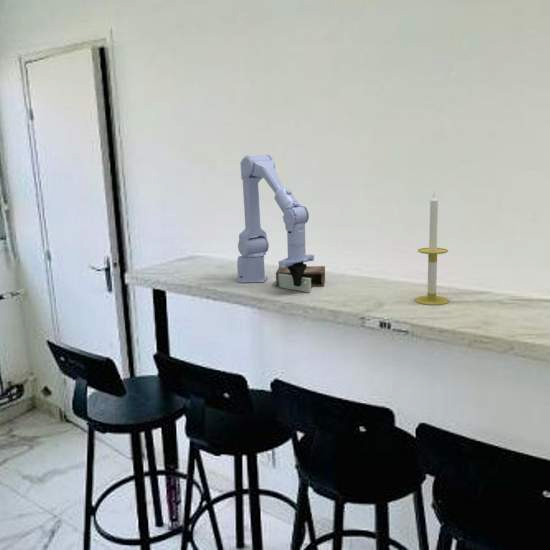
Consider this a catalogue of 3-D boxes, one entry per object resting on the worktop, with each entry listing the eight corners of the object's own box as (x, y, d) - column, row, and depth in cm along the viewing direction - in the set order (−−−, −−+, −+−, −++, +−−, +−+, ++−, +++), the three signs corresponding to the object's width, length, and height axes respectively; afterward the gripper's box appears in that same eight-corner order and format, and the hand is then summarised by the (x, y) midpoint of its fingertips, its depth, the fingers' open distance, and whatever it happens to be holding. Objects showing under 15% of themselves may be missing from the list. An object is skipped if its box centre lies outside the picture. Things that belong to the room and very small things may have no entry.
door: (276, 287, 202) (275, 274, 201) (279, 286, 203) (279, 273, 202) (307, 292, 193) (306, 279, 192) (311, 291, 194) (310, 278, 193)
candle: (449, 297, 183) (452, 189, 176) (448, 305, 174) (452, 192, 167) (415, 296, 186) (417, 190, 179) (413, 304, 177) (415, 193, 170)
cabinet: (276, 286, 204) (275, 272, 203) (279, 280, 213) (279, 266, 212) (323, 286, 202) (323, 272, 200) (325, 280, 211) (324, 266, 210)
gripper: (289, 248, 185) (290, 291, 188) (320, 242, 194) (321, 283, 197) (273, 246, 190) (274, 288, 192) (304, 240, 199) (305, 280, 202)
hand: (297, 285), depth 195 cm, fingers closed
